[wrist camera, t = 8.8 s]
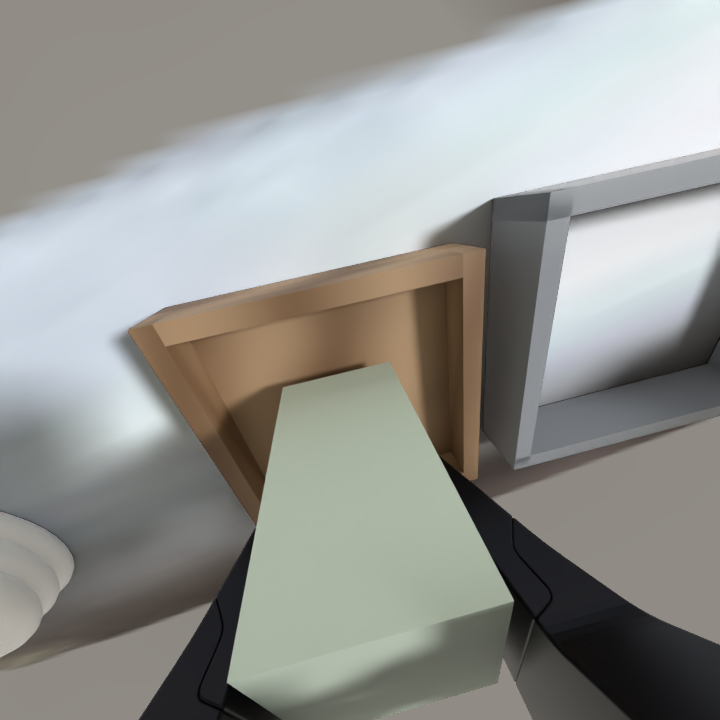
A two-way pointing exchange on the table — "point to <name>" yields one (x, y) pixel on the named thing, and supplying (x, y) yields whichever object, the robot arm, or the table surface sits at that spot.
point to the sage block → (363, 564)
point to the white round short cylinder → (28, 578)
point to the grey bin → (536, 312)
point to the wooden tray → (326, 353)
